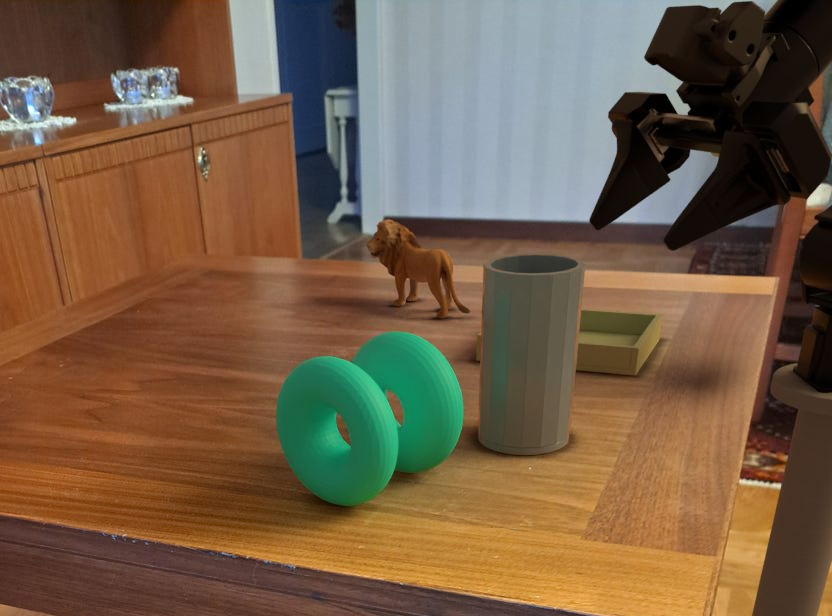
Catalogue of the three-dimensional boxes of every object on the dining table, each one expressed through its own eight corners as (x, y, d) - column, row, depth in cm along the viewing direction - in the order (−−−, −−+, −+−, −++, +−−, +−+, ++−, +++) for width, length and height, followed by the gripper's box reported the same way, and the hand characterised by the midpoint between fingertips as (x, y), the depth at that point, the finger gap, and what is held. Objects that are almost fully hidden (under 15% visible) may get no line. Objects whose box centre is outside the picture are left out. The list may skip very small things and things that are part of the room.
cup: (559, 421, 77) (573, 251, 70) (576, 453, 71) (594, 272, 64) (473, 424, 77) (479, 255, 70) (483, 457, 71) (490, 276, 64)
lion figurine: (361, 302, 112) (359, 221, 107) (393, 294, 115) (392, 214, 110) (454, 323, 103) (456, 234, 98) (486, 313, 106) (489, 227, 101)
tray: (659, 339, 95) (663, 314, 93) (635, 375, 85) (639, 348, 84) (513, 328, 100) (514, 303, 99) (476, 360, 91) (476, 334, 90)
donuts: (470, 480, 68) (474, 339, 62) (378, 529, 61) (374, 378, 56) (366, 448, 73) (361, 317, 68) (273, 490, 67) (260, 350, 62)
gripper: (648, -37, 69) (503, 141, 71) (845, -59, 54) (652, 165, 57) (715, 86, 75) (580, 244, 78) (907, 95, 60) (732, 290, 63)
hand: (628, 235), depth 69 cm, fingers open, 9 cm apart
